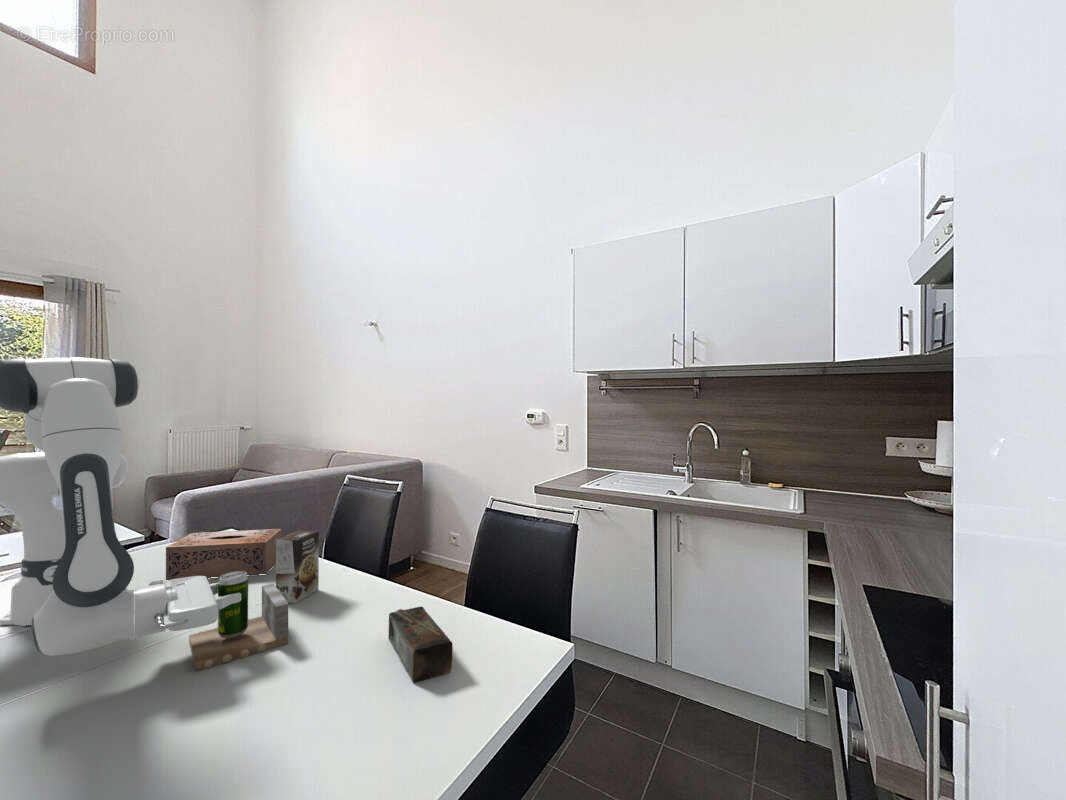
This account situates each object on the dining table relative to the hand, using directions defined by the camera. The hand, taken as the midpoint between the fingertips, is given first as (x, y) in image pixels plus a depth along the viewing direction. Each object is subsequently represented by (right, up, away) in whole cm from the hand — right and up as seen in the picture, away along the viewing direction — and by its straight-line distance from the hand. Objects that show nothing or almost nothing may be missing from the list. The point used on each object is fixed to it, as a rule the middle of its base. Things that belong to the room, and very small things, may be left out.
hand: (238, 591), depth 100 cm
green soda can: (-1, -9, -1) cm, 9 cm away
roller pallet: (0, -11, 0) cm, 11 cm away
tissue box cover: (-30, -11, +43) cm, 54 cm away
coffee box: (+1, -11, +24) cm, 27 cm away
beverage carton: (+39, -12, -4) cm, 41 cm away
